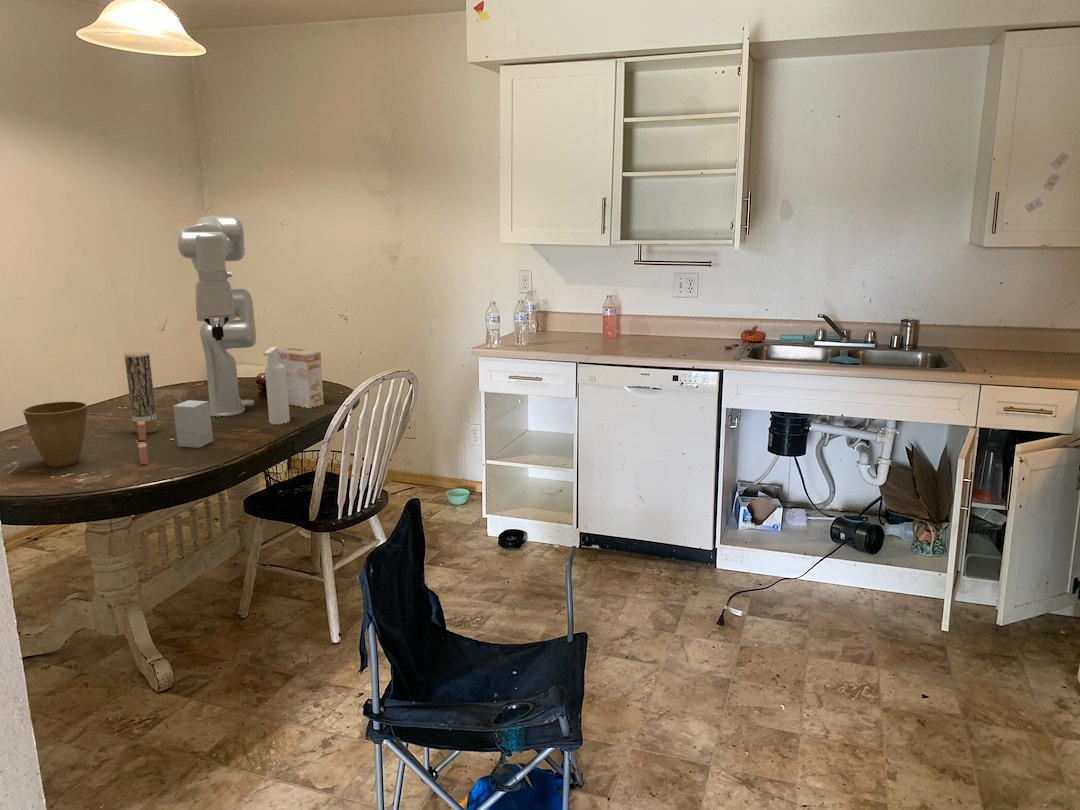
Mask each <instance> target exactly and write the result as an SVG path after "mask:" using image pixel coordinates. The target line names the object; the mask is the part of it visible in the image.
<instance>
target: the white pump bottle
mask: <svg viewBox="0 0 1080 810" xmlns="http://www.w3.org/2000/svg"><path fill="white" fill-rule="evenodd" d="M278 350H279V347H278V346H271V347H270V348H268V349H267V350H266V351H264V352H263V356H264V357H267V360H266V366H265V368H264V371H265V373H264V374H265V384H266V385H265V387H266V398H267V409H268V411H267V412H268V423H269V422H270V423H271V424H270V423H269V424H270V425H275V424H276V425H284V424H283V423H285V424H288V423H290V422H291V419H290V407H289V406H290V405H289V403H288V389H287V375H286V368H285V366H284V365H283V364H282V362H281V357H280V356H279V355H278V352H279V351H278ZM278 358H279V360H278ZM289 421H290V422H289ZM287 422H288V423H287Z"/></svg>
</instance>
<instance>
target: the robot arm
mask: <svg viewBox="0 0 1080 810" xmlns="http://www.w3.org/2000/svg"><path fill="white" fill-rule="evenodd" d="M245 247H246V246H245V233H244V227H243V224H242V222H241V220H240V219H239V218H238V217H236V216H232V215H228V216H227V215H226V216H223V215H222V216H221V215H208V216H203V217H201V218H199V219H198V220H196V222H195V225H190V226H186V227H183V228H182V229H180V231H179V232H178V237H177V249H178V251H179V253H180V255H181V256H182V257H183V258H185V259H190V260H191V262H192V265H193V266H194V268H195V271H196V272H197V274H198V281H196V283H195V309H196V320H197V321H198V322H203V324H202V325H201V327H200V329H199V336H200V341H201V344H202V348H203V352H204V353H203V354H204V358H205V369H206V378H207V386H208V387H207V388H208V390H207V391H208V398H209V400H208V401H209V407H210V416H211V417H215V416H216V417H221V416H223V417H231V416H232V417H233V416H237V415H241V414H243V413H244V412H245V411H246V408H245V406H246V407H247V406H255V402H254V401H255V400H254V399H241V397H240V392H239V381H238V371H237V370H238V369H237V362H236V359H235V357H234V356H233V355H232V354H231V353H230V352H229V351H227V350H231V349H245V348H247V349H248V348H252V347H254V346H255V345H256V342H257V333H256V332H257V329H256V321H255V315H254V314H255V312H254V304H253V299H252V295H251V293H250V292H249V290H247V289H244V288H232V286H231V283H230V281H229V280H228V279H230V278H232V276H233V273H232V272H229V271H227V269H226V268H227V266H226V262H238V261H241V260H243V258H244V256H245V253H246V252H245V250H246V249H245ZM237 318H238V319H237ZM215 319H218V320H215Z"/></svg>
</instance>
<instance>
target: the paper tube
mask: <svg viewBox="0 0 1080 810" xmlns="http://www.w3.org/2000/svg"><path fill="white" fill-rule="evenodd" d="M150 358H151V357H150V352H149V351H131V352H125V353H124V362H125V370H126V379H127V388H128V395H129V402H130V403H129V404H130V412H131V419H132V427H133V432H134V433H135V434H137V435H139V434H138V425H137V422H139V421H145V429H146V435H148V434H153V433H155V432H157V430H159V429H158V422H157V411H156V401H155V393H154V383H153V377H152V367H151V359H150Z"/></svg>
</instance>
